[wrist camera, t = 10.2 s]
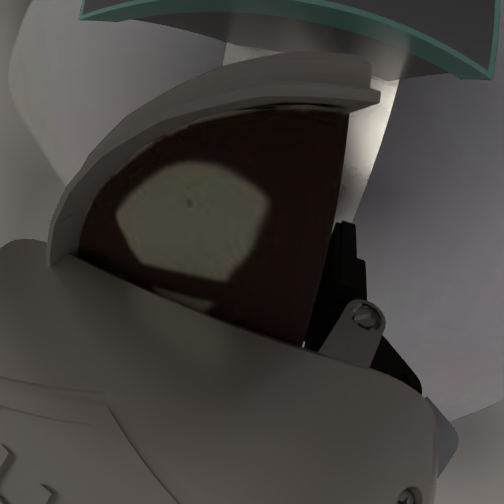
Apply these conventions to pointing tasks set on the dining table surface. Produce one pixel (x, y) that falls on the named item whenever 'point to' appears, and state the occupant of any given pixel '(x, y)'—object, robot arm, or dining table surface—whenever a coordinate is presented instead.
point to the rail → (358, 137)
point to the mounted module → (338, 29)
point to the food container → (223, 189)
